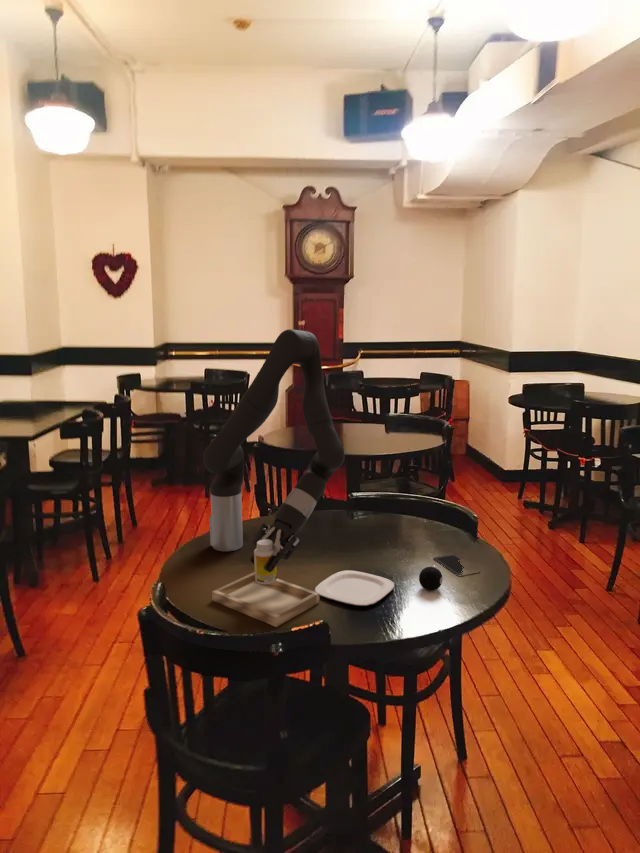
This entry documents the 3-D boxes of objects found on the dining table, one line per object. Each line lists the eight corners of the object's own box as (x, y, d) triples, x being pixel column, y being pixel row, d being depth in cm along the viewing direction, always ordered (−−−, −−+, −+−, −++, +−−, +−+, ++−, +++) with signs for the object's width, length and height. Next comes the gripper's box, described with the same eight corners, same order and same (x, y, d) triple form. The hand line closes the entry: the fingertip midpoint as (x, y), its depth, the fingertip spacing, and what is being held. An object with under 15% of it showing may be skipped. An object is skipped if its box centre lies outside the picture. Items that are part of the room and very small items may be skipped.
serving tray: (212, 600, 171) (212, 591, 171) (256, 579, 184) (256, 571, 183) (276, 627, 158) (276, 617, 157) (319, 602, 170) (319, 593, 169)
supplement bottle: (280, 582, 168) (279, 543, 166) (259, 587, 166) (258, 547, 164) (272, 574, 173) (270, 536, 171) (251, 578, 171) (250, 540, 169)
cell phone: (458, 578, 184) (459, 575, 184) (432, 559, 197) (432, 557, 197) (481, 574, 187) (481, 571, 187) (453, 556, 200) (453, 553, 200)
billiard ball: (437, 596, 173) (438, 574, 172) (415, 591, 176) (416, 569, 175) (445, 587, 178) (445, 565, 177) (423, 582, 181) (424, 561, 180)
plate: (368, 614, 164) (368, 608, 164) (306, 597, 174) (306, 591, 174) (401, 587, 179) (401, 581, 179) (342, 572, 189) (342, 566, 188)
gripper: (270, 496, 176) (233, 551, 171) (305, 509, 165) (267, 568, 160) (286, 511, 180) (251, 565, 175) (322, 524, 170) (286, 582, 164)
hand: (259, 566), depth 168 cm, fingers closed on supplement bottle, 5 cm apart
